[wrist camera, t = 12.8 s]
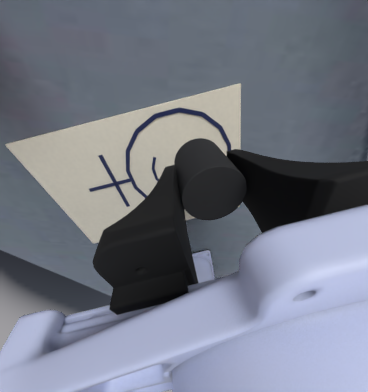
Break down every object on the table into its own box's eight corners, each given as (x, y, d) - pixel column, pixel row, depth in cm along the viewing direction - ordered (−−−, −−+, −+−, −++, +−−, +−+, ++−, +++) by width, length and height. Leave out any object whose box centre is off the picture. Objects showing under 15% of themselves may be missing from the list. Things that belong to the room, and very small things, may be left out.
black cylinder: (222, 176, 13) (246, 212, 10) (179, 187, 13) (188, 226, 10) (219, 132, 11) (248, 157, 8) (168, 145, 11) (174, 176, 8)
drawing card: (239, 205, 24) (240, 207, 23) (94, 242, 24) (93, 244, 24) (239, 83, 15) (241, 83, 14) (7, 143, 15) (3, 145, 15)
